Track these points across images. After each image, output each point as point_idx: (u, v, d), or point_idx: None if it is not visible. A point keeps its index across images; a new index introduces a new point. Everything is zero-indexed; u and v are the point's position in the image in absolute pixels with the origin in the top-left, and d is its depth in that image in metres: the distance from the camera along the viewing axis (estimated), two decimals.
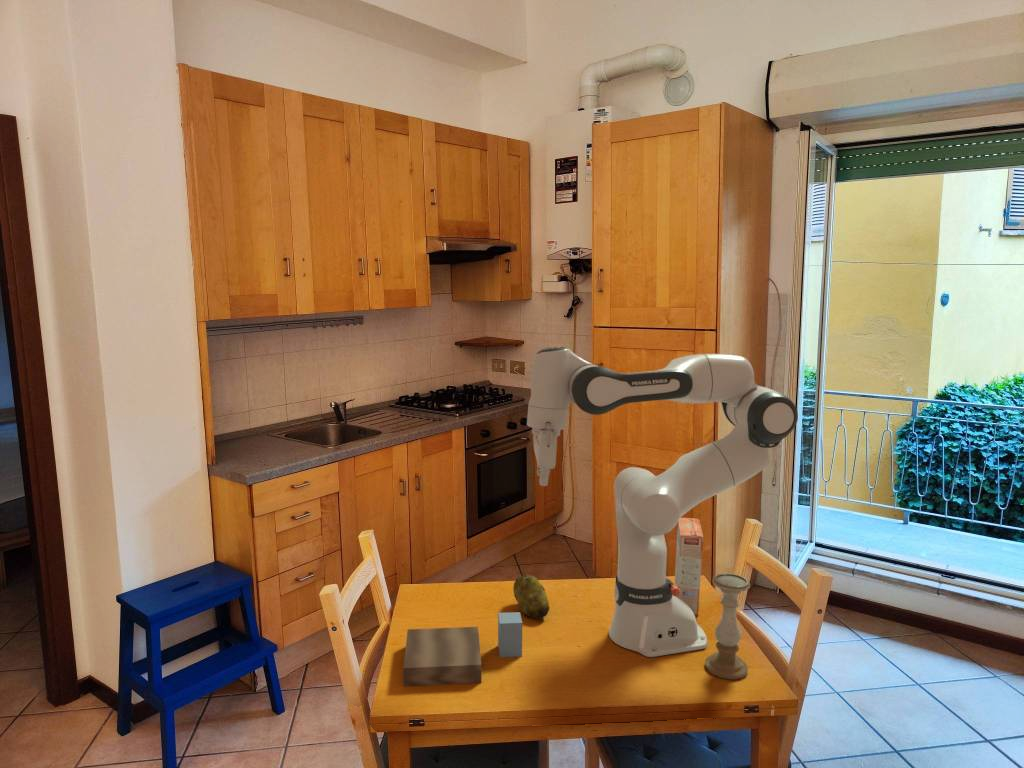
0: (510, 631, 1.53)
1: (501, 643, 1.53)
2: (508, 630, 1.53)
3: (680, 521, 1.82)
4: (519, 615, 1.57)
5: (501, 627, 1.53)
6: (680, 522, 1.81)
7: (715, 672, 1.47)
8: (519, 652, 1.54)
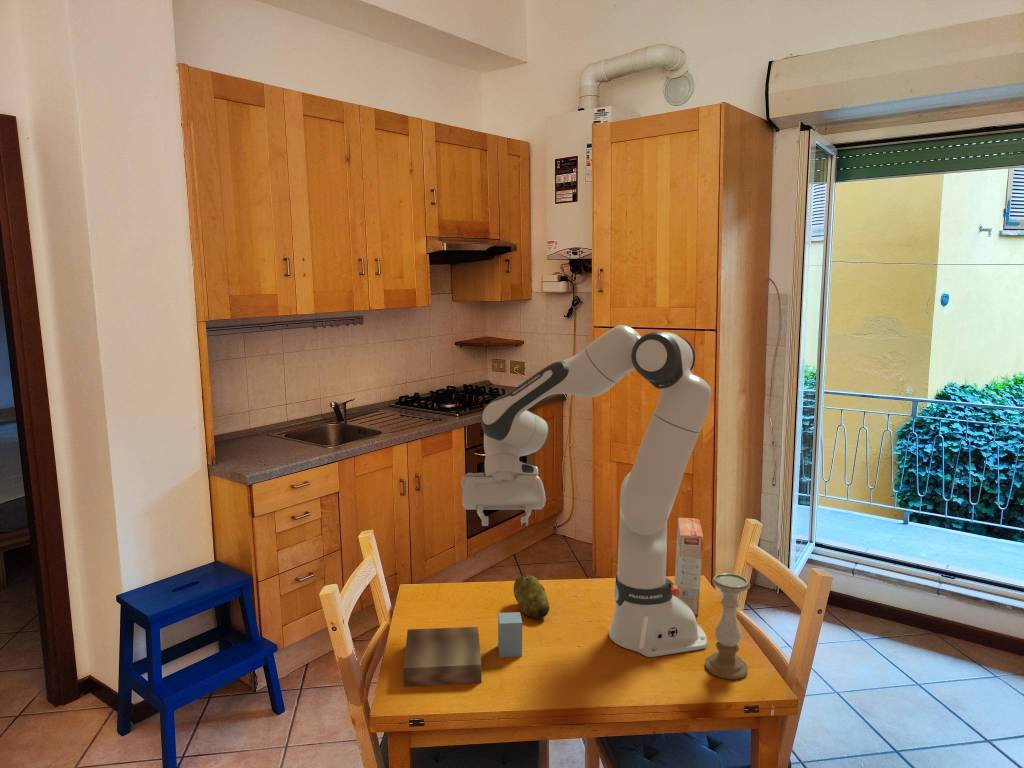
0: (510, 631, 1.53)
1: (501, 643, 1.53)
2: (508, 631, 1.53)
3: (680, 521, 1.82)
4: (519, 615, 1.57)
5: (501, 627, 1.53)
6: (680, 522, 1.81)
7: (715, 672, 1.47)
8: (519, 652, 1.54)
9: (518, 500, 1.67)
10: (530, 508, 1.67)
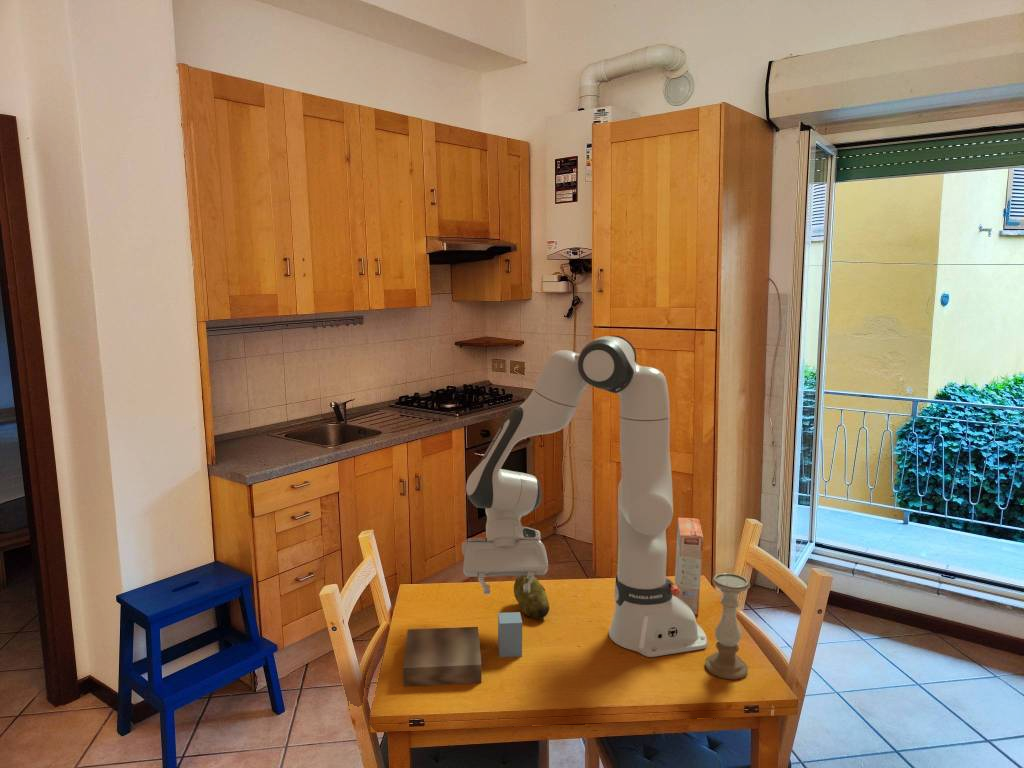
0: (510, 631, 1.53)
1: (501, 643, 1.53)
2: (508, 630, 1.53)
3: (680, 521, 1.82)
4: (519, 615, 1.57)
5: (501, 627, 1.53)
6: (680, 522, 1.81)
7: (715, 672, 1.47)
8: (519, 652, 1.54)
9: (520, 567, 1.64)
10: (532, 575, 1.64)
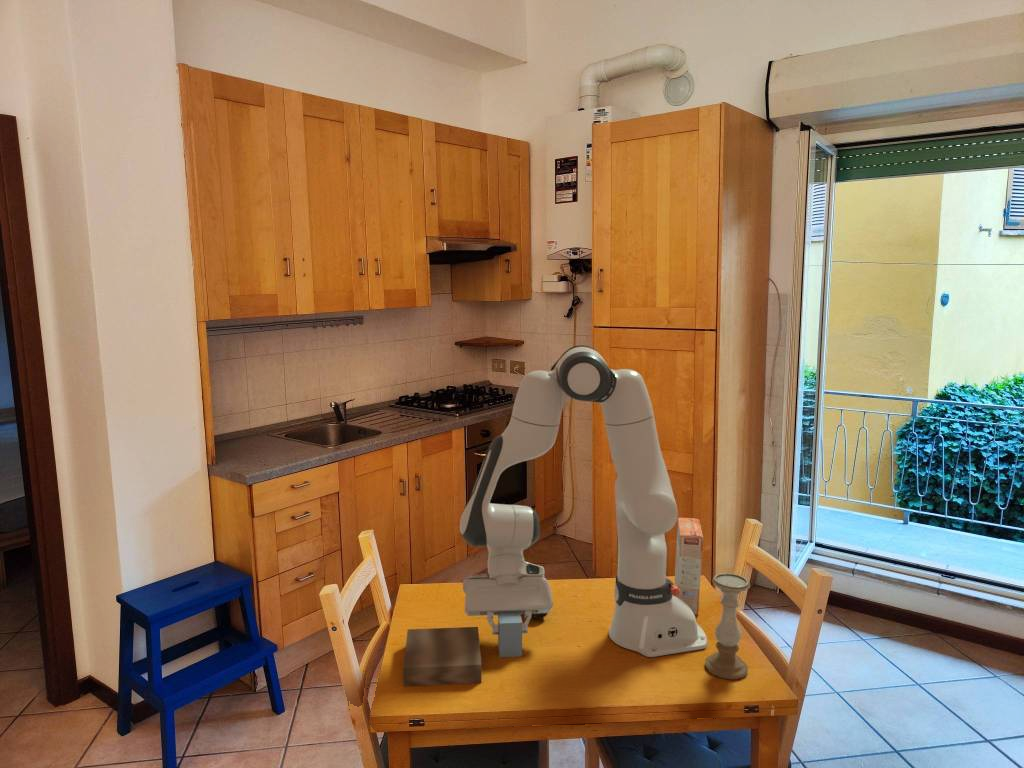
0: (510, 631, 1.53)
1: (501, 643, 1.53)
2: (508, 630, 1.53)
3: (680, 521, 1.82)
4: (519, 615, 1.57)
5: (501, 627, 1.53)
6: (680, 522, 1.81)
7: (715, 672, 1.47)
8: (519, 652, 1.54)
9: (524, 606, 1.57)
10: (530, 614, 1.57)
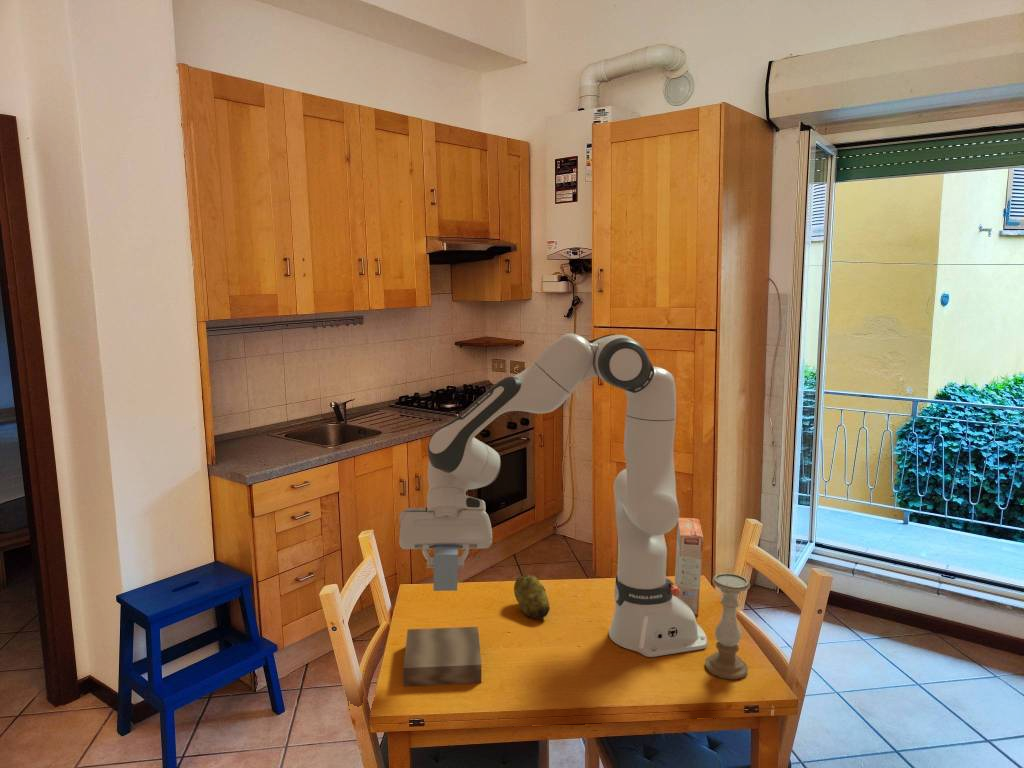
0: (445, 563, 1.46)
1: (435, 575, 1.46)
2: (442, 562, 1.46)
3: (680, 521, 1.82)
4: (456, 548, 1.49)
5: (435, 558, 1.46)
6: (680, 522, 1.81)
7: (715, 672, 1.47)
8: (454, 586, 1.47)
9: (461, 539, 1.50)
10: (467, 547, 1.50)
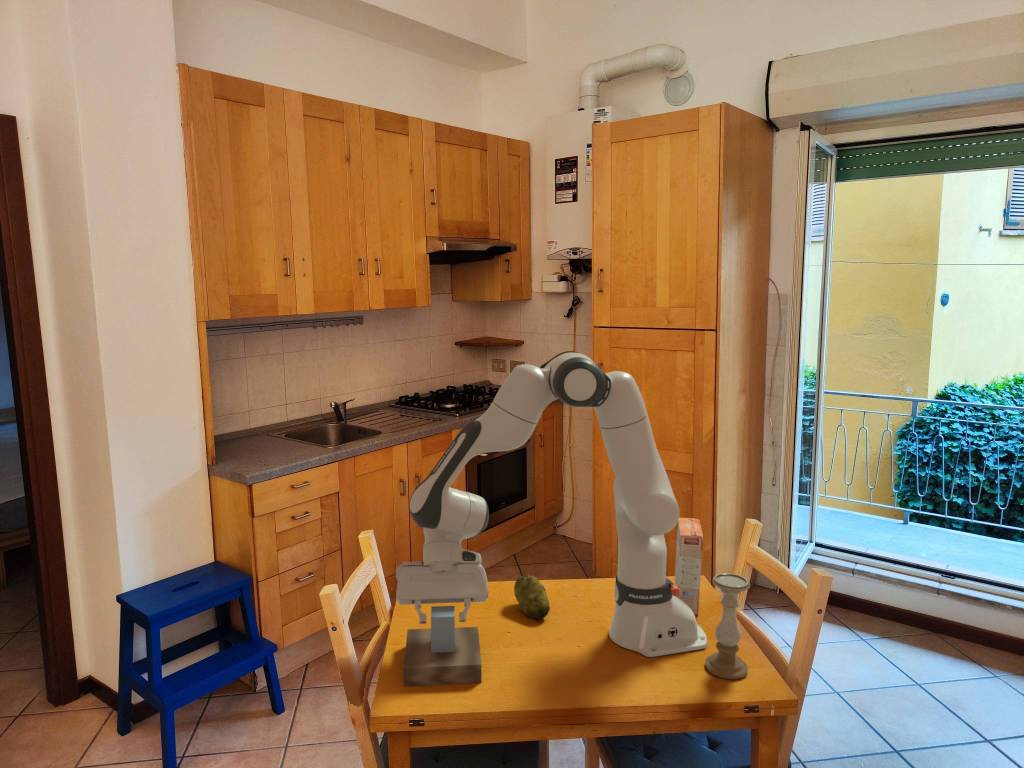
0: (442, 625, 1.47)
1: (433, 638, 1.48)
2: (440, 625, 1.47)
3: (680, 521, 1.82)
4: (453, 609, 1.51)
5: (432, 621, 1.47)
6: (680, 522, 1.81)
7: (715, 672, 1.47)
8: (452, 647, 1.48)
9: (458, 594, 1.51)
10: (469, 602, 1.51)
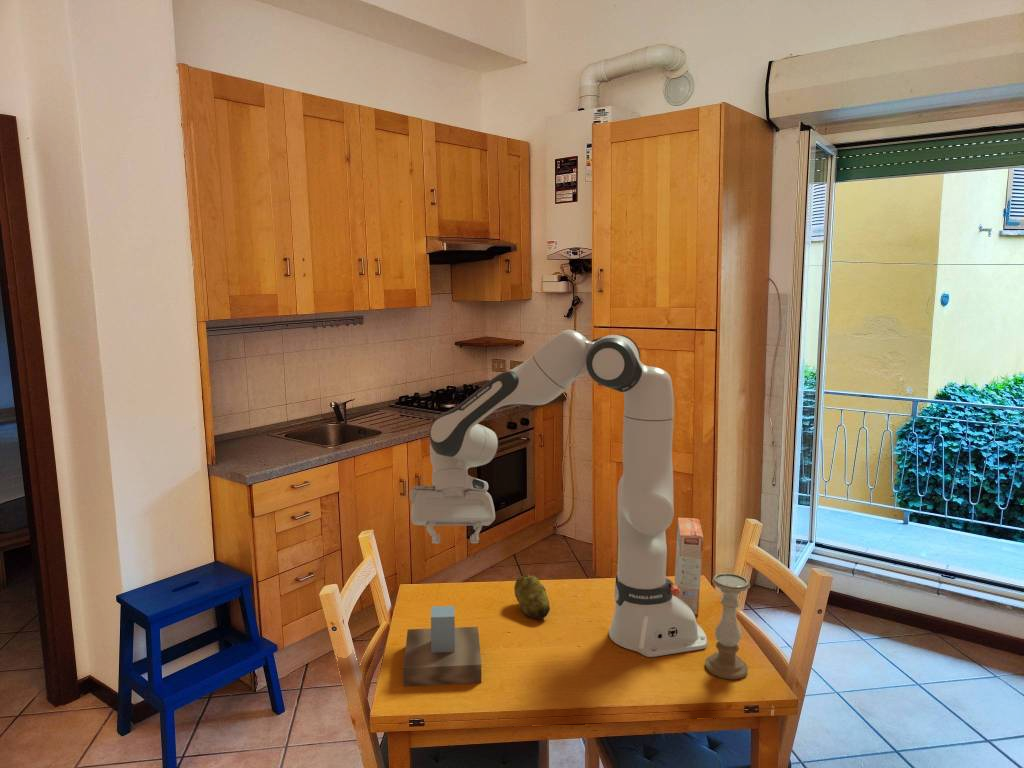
0: (442, 625, 1.47)
1: (433, 638, 1.48)
2: (440, 625, 1.47)
3: (680, 521, 1.82)
4: (453, 609, 1.51)
5: (432, 621, 1.47)
6: (680, 522, 1.81)
7: (715, 672, 1.47)
8: (452, 647, 1.48)
9: (469, 517, 1.64)
10: (480, 525, 1.65)
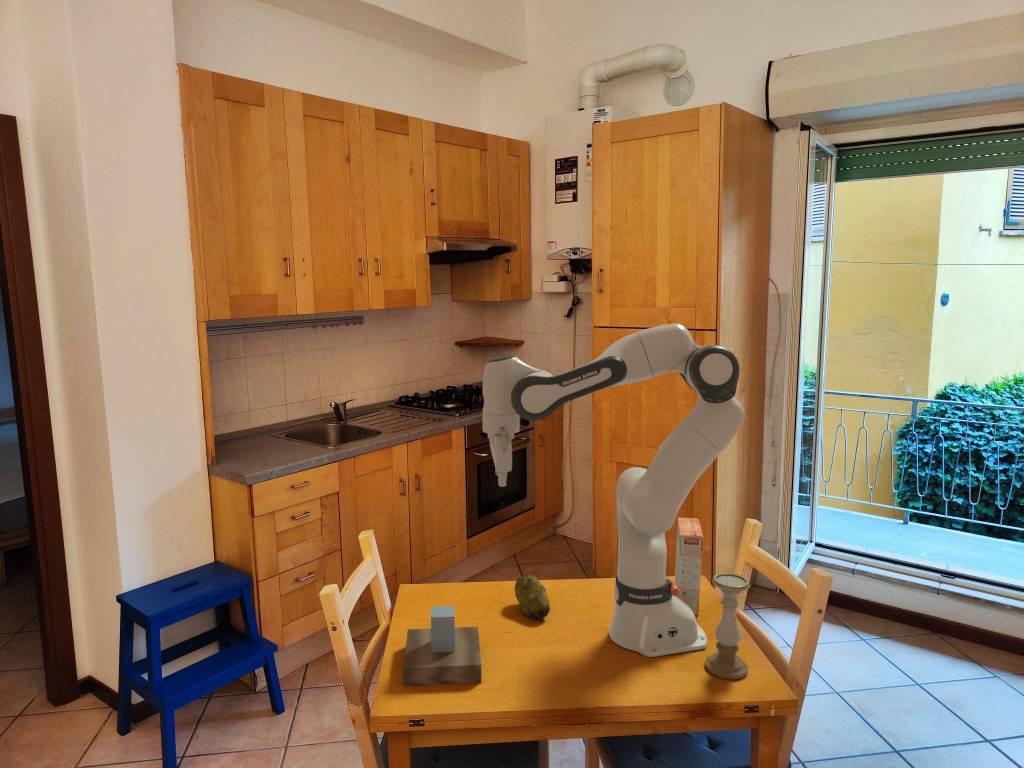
0: (442, 625, 1.47)
1: (433, 638, 1.48)
2: (440, 625, 1.47)
3: (680, 521, 1.82)
4: (453, 609, 1.51)
5: (432, 621, 1.47)
6: (680, 522, 1.81)
7: (715, 672, 1.47)
8: (452, 647, 1.48)
9: None
10: None
